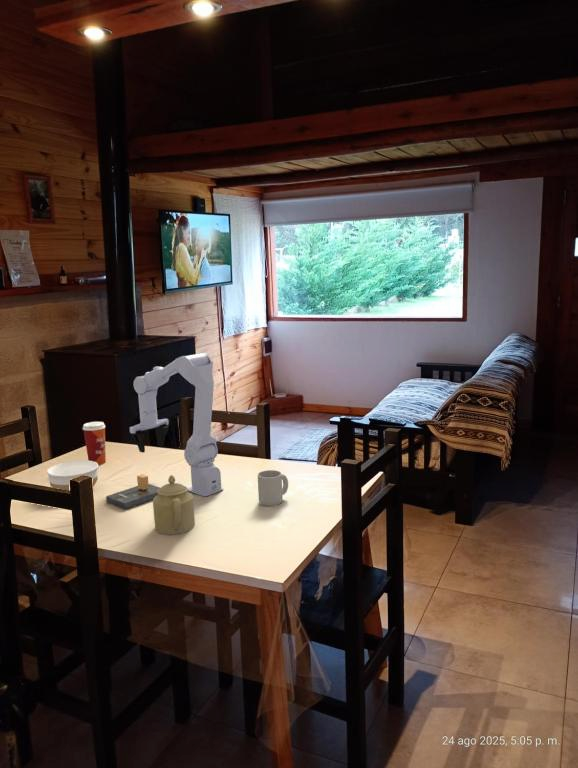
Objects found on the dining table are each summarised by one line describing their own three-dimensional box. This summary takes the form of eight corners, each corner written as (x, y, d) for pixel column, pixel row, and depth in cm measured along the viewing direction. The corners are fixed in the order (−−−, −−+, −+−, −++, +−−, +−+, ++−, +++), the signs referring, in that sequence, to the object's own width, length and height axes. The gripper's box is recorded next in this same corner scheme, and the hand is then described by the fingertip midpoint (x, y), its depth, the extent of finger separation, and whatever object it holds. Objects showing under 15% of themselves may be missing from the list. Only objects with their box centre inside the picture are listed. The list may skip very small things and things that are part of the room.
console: (165, 495, 202) (165, 489, 201) (125, 509, 191) (124, 503, 190) (146, 488, 208) (146, 482, 208) (106, 502, 197) (106, 496, 197)
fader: (148, 488, 202) (147, 476, 201) (143, 490, 201) (142, 477, 200) (143, 486, 204) (142, 474, 203) (138, 488, 203) (136, 475, 202)
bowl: (80, 479, 220) (78, 457, 219) (110, 487, 211) (108, 464, 209) (39, 493, 207) (36, 470, 206) (69, 503, 198) (66, 478, 197)
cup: (254, 501, 194) (253, 473, 192) (282, 494, 199) (281, 466, 198) (266, 508, 188) (265, 479, 186) (294, 500, 193) (293, 472, 192)
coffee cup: (105, 465, 234) (101, 426, 231) (82, 466, 234) (78, 427, 231) (111, 459, 242) (108, 420, 239) (90, 459, 242) (86, 421, 240)
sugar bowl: (211, 529, 174) (208, 477, 172) (178, 542, 167) (174, 488, 164) (180, 515, 185) (176, 466, 182) (147, 527, 177) (143, 476, 175)
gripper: (158, 405, 223) (161, 442, 226) (123, 413, 213) (126, 452, 215) (171, 407, 219) (174, 445, 221) (135, 416, 208) (138, 455, 211)
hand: (151, 449), depth 218 cm, fingers open, 7 cm apart
